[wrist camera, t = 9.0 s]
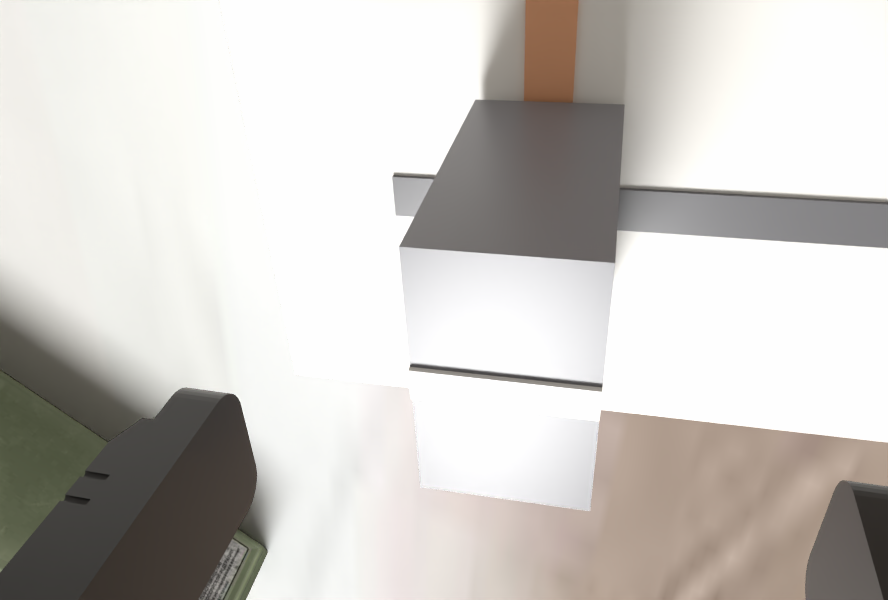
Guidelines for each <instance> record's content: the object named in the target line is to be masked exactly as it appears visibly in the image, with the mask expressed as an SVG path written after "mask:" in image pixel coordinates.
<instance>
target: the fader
mask: <svg viewBox="0 0 888 600" xmlns="http://www.w3.org/2000/svg"><path fill="white" fill-rule="evenodd" d="M624 108H625V104H595V103H565V102H535V101H505V100H476V99H475V101H474V103H473V105H472V107H471V109H470V111H469V113H468V115H467V116H466V118H465V120H464V122H463V124H462V126H461V128H460V130H459V132H458V134H457V136H456V138H455V140H454V142H453V143H452V145H451V147H450V149H449V151H448V153H447V155H446V157H445V159H444V161H443V163H442V165H441V167H440V168H439V170H438V172H437V174H436V176H435V178H434V180H433V182H432V184H431V186H430V188H429V190H428V192H427V194H426V195H425V197H424V199H423V201H422V203H421V205H420V207H419V209H418V211H417V213H416V215H415V217H414V219H413V220H412V222H411V224H410V226H409V228H408V230H407V232H406V234H405V236H404V238H403V240H402V242H401V244H400V246H399V254H400V265H401V277H402V288H403V299H404V310H405V321H406V332H407V343H408V354H409V366H410V367H409V370H408V376H409V387H410V398H411V399H412V400H413V410H414V421H415V432H416V444H417V455H418V466H419V477H420V487H423V488H430V489H437V490H444V491H451V492H458V493H465V494H472V495H479V496H486V497H493V498H500V499H508V500H515V501H522V502H529V503H536V504H543V505H550V506H557V507H564V508H571V509H578V510H586V511H590V507H591V497H592V487H593V477H594V467H595V458H596V448H597V438H598V428H599V419H600V410H601V400H602V389H603V379H604V369H605V359H606V349H607V339H608V329H609V320H610V310H611V300H612V290H613V280H614V270H615V259H616V242H617V225H618V208H619V192H620V175H621V158H622V141H623V125H624Z"/></svg>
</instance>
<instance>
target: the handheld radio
mask: <svg viewBox="0 0 888 600" xmlns="http://www.w3.org/2000/svg"><path fill="white" fill-rule="evenodd" d="M107 443H108V442H107V441H106V440H104V439H103V438H101V437H100V436H98V435H97V434H95V433H94V432H92V431H91V430H89V429H88V428H86V427H85V426H83V425H82V424H80V423H79V422H77V421H76V420H74V419H73V418H71V417H70V416H68V415H67V414H65V413H64V412H62V411H61V410H59V409H58V408H56V407H55V406H53V405H52V404H50V403H49V402H47V401H46V400H44V399H43V398H41V397H40V396H38V395H37V394H35V393H34V392H33V391H31V390H30V389H28V388H27V387H25V386H24V385H22V384H21V383H19V382H18V381H16V380H15V379H13V378H12V377H10V376H9V375H7V374H6V373H4V372H3V371H1V370H0V572H1V571H2V570H3V568H4V567H5V566H6V565H7V564H8V562H9V561H10V560H11V559H12V558H13V556H14V555H15V554H16V553H17V552H18V550H19V549H20V548H21V547H22V546H23V544H24V543H25V542H26V541H27V540H28V538H29V537H30V536H31V535H32V534H33V532H34V531H35V530H36V529H37V528H38V526H39V525H40V524H41V523H42V522H43V520H44V519H45V518H46V517H47V516H48V514H49V513H50V512H51V511H52V510H53V508H54V507H55V506H56V505H57V504H58V502H59V501H64V499H65V494H66V493H67V491H68V490H69V489H70V488H71V487H72V485H73V484H74V483H75V482H76V481H77V479H78V478H79V477H80V476H81V477H83V476H84V475H85V470H86V469H87V467H88V466H89V465H90V464H91V463H92V461H93V460H94V459H95V458H96V457H97V455H98V454H99V453H100V452H101V451H102V449H103V448H104V447H105V446H106V445H107ZM267 553H268V552H267V550H266V549H265V547H263V546H262V545H261V544H260V543H258V542H257V541H255V540H254V539H252V538H251V537H249V536H248V535H246V534H245V533H243V532H242V531H240V530H239V529H238V530H237V532H236V533H235V535H234V537H233V539H232V541H231V542H230V544H229V546H228V548H227V549H226V551H225V553H224V555H223V557H222V558H221V560H220V562H219V564H218V565H217V567H216V569H215V571H214V573H213V574H212V576H211V578H210V580H209V582H208V583H207V585H206V587H205V589H204V590H203V592H202V594H201V596H200V598H199V599H198V600H246V598H247V596H248V594H249V592H250V589H251V587H252V585H253V583H254V581H255V579H256V577H257V574H258V572H259V570H260V568H261V566H262V564H263V561H264V559H265V557H266V555H267Z"/></svg>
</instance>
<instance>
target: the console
mask: <svg viewBox="0 0 888 600" xmlns="http://www.w3.org/2000/svg"><path fill="white" fill-rule="evenodd" d="M219 3H220V8H221V13H222V18H223V23H224V28H225V33H226V38H227V43H228V48H229V53H230V57H231V62H232V67H233V72H234V77H235V82H236V87H237V92H238V97H239V102H240V107H241V111H242V116H243V121H244V126H245V131H246V136H247V141H248V146H249V151H250V156H251V161H252V166H253V170H254V175H255V180H256V185H257V190H258V195H259V200H260V205H261V210H262V215H263V220H264V224H265V229H266V234H267V239H268V244H269V249H270V254H271V259H272V264H273V269H274V274H275V278H276V283H277V288H278V293H279V298H280V303H281V308H282V313H283V318H284V323H285V328H286V332H287V337H288V342H289V347H290V352H291V357H292V362H293V367H294V372H295V375H301V376H310V377H318V378H327V379H336V380H345V381H353V382H362V383H371V384H380V385H388V386H397V387H406V388H410V387H409V376H408V370H409V367H410V366H409V354H408V343H407V332H406V321H405V310H404V299H403V288H402V277H401V265H400V254H399V246H400V244H401V242H402V240H403V238H404V236H405V234H406V232H407V230H408V228H409V226H410V224H411V222H412V220H413V219H414V217H415V215H416V213H417V211H418V209H419V207H420V205H421V203H422V201H423V199H424V197H425V195H426V194H427V192H428V190H429V188H430V186H431V184H432V182H433V180H434V178H435V176H436V174H437V172H438V170H439V168H440V167H441V165H442V163H443V161H444V159H445V157H446V155H447V153H448V151H449V149H450V147H451V145H452V143H453V142H454V140H455V138H456V136H457V134H458V132H459V130H460V128H461V126H462V124H463V122H464V120H465V118H466V116H467V115H468V113H469V111H470V109H471V107H472V105H473V103H474V101H475V99H476V100H505V101H535V102H565V103H595V104H625V108H624V125H623V141H622V158H621V175H620V192H619V208H618V225H617V242H616V259H615V270H614V280H613V290H612V300H611V310H610V320H609V329H608V339H607V349H606V359H605V369H604V379H603V389H602V400H601V410H608V411H616V412H625V413H634V414H643V415H652V416H660V417H669V418H678V419H687V420H695V421H704V422H713V423H722V424H730V425H739V426H748V427H757V428H766V429H774V430H783V431H792V432H801V433H809V434H818V435H827V436H836V437H845V438H853V439H862V440H871V441H880V442H888V0H219Z"/></svg>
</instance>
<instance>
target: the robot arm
mask: <svg viewBox="0 0 888 600" xmlns="http://www.w3.org/2000/svg"><path fill="white" fill-rule="evenodd" d="M256 481H257V470H256V464H255V460H254V456H253V452H252V448H251V444H250V440H249V436H248V432H247V428H246V424H245V420H244V416H243V412H242V408H241V404H240V401H239V399H238V398H237V397H236V396H235V395H234V394H229V393H221V392H214V391H207V390H200V389H192V388H182V389H180V390H178V391H177V392H176V393H175V394H174V395H173V396H172V397H171V398H170V399H169V401H168V402H167V403H166V405H165V406H164V407H163V408H162V410H161V411H160V412H159V413H158V415H157V416H156V417H155V418H154V420H152V419H145V418H142V419H141V420H139V421H138V422H137V423H135V424H134V425H132V426H131V427H129V428H128V429H126V430H125V431H124V432H122V433H121V434H119V435H118V436H116V437H115V438H113V439H112V440H111V441H109V442H108V443H107V445H106V446H105V447H104V448H103V449H102V451H101V452H100V453H99V454H98V455H97V457H96V458H95V459H94V460H93V461H92V463H91V464H90V465H89V466H88V467H87V469H86V470H85V475H84V476H83V477H81V476H80V477H79V478H78V479H77V481H76V482H75V483H74V484H73V485H72V487H71V488H70V489H69V490H68V491H67V493H66V494H65V499H64V501H59V502H58V504H57V505H56V506H55V507H54V508H53V510H52V511H51V512H50V513H49V514H48V516H47V517H46V518H45V519H44V520H43V522H42V523H41V524H40V525H39V526H38V528H37V529H36V530H35V531H34V532H33V534H32V535H31V536H30V537H29V538H28V540H27V541H26V542H25V543H24V544H23V546H22V547H21V548H20V549H19V550H18V552H17V553H16V554H15V555H14V556H13V558H12V559H11V560H10V561H9V562H8V564H7V565H6V566H5V567H4V568H3V570H2V571H1V572H0V600H198V599H199V598H200V596H201V594H202V592H203V590H204V589H205V587H206V585H207V583H208V582H209V580H210V578H211V576H212V574H213V573H214V571H215V569H216V567H217V565H218V564H219V562H220V560H221V558H222V557H223V555H224V553H225V551H226V549H227V548H228V546H229V544H230V542H231V541H232V539H233V537H234V535H235V533H236V532H237V530H238V528H239V526H240V524H241V523H242V521H243V519H244V517H245V516H246V514H247V512H248V510H249V508H250V506H251V503H252V500H253V497H254V493H255V488H256ZM805 594H806V600H888V486H880V485H873V484H866V483H859V482H852V481H844V480H843V481H841V482H839V483H838V485H837V486H836V488H835V491H834V493H833V496H832V498H831V501H830V504H829V506H828V509H827V512H826V514H825V517H824V519H823V522H822V525H821V527H820V530H819V533H818V535H817V538H816V541H815V543H814V546H813V549H812V551H811V554H810V557H809V560H808V565H807V571H806V583H805Z"/></svg>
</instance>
